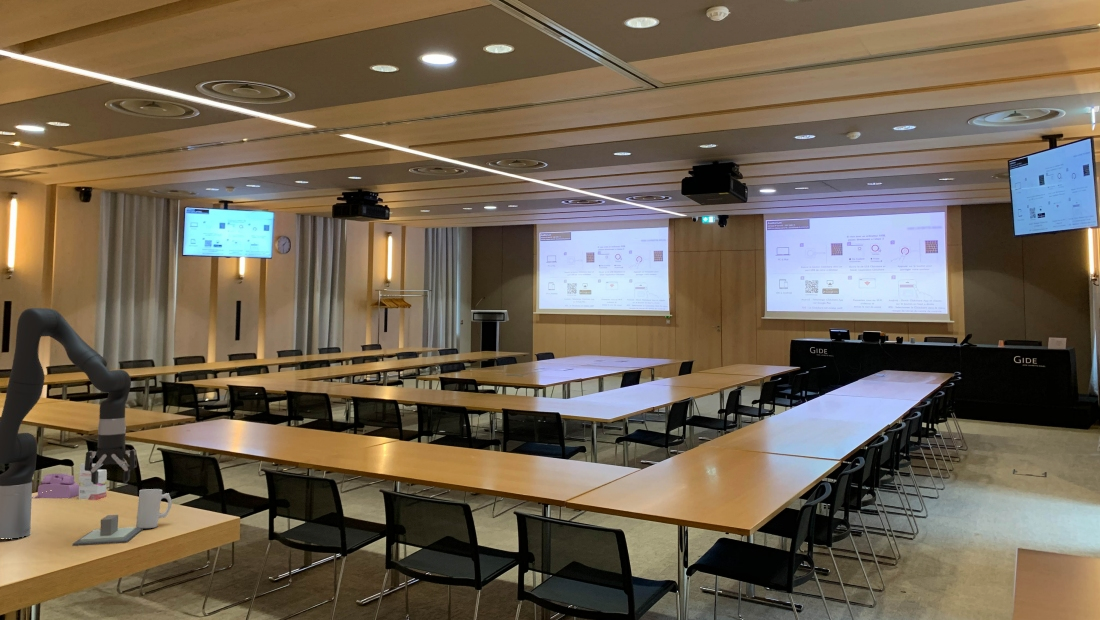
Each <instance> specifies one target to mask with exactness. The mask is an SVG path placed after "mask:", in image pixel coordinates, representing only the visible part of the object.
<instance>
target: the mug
mask: <svg viewBox="0 0 1100 620" xmlns="http://www.w3.org/2000/svg"><path fill="white" fill-rule="evenodd" d="M138 495H139V496H138V502H137V504H138V505H137V514H136V525H135V527H136V528H143V529H151V528H152V529H153V528H157V527H158V524H159V523H158V522H159V520H160V519H162V518H166V517H167V516H168V514H169V512H170V510H171V509H172V504H173V503H172V498H171V496H170V493H169V492H168V493H167V492H166V493H164V494H163V489H160V488H153V489H152V488H151V489H149V488H148V489H146V488H145V489H140V490H139V492H138ZM162 499H166V500H167V508H166V510H165V511H164V512H161V513H160V509H161V503H162Z"/></svg>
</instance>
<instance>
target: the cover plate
mask: <svg viewBox="0 0 1100 620" xmlns="http://www.w3.org/2000/svg"><path fill="white" fill-rule="evenodd" d="M136 528H137V527H136V526H130V527H129V526H128V527H119V514H108V515H106V516H104V517H103V518H101V519H100V528H95V529H93V530H91V531H92V532H91V531H90V532H91V533H89V532H88V533H89V534H88V533H87V534H88V535H86V534H85V535H86V536H85V535H83V536H84V537H83V536H82V537H83V538H82V537H80V538H81V539H80V538H79V539H80V542H89V541H106V540H123V539H125V538H126V537H127V536H129V535H130V534H131V533H132V532H134V531H135V530H136Z"/></svg>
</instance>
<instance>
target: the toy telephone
mask: <svg viewBox="0 0 1100 620" xmlns="http://www.w3.org/2000/svg"><path fill="white" fill-rule="evenodd" d="M41 483H42V484H39V485H38V487H37V495H35V497H34V496H32V499H37V498H38V499H62V498H68V499H72V498H75V497H79V496H78V495H79V483H77V482H76V481H75V477H74V475H71V474H68V473H58V472H57V473H50V474H45V475H44V476H43V480H41ZM50 490H52V491H50ZM46 491H47V492H46ZM42 492H43V493H42Z"/></svg>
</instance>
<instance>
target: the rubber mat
mask: <svg viewBox="0 0 1100 620" xmlns="http://www.w3.org/2000/svg"><path fill="white" fill-rule="evenodd" d="M143 529H144V528H137V527H136V530H135V531H134V532H132V533H131V534H130V535H129V536H127V537H126V538H125V539H123V540H106V541H89V542H80V539H81V538H83V537H84V536H86V535H88V534H89V533H91V532H92V531H93V530H91V531H89V532H88V533H87V534H85V535H83V536H82V537H80V538H79V539H77V540H76V541H74V542H73V543H72V547H73V546H87V545H89V546H90V545H91V546H92V545H106V544H109V545H110V544H124V543H125V544H126V543H128V542H130V541H131V540H132V539H133V538H135V537H136V536H137V535H138V534H140V533H141V532H142V531H143Z"/></svg>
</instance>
